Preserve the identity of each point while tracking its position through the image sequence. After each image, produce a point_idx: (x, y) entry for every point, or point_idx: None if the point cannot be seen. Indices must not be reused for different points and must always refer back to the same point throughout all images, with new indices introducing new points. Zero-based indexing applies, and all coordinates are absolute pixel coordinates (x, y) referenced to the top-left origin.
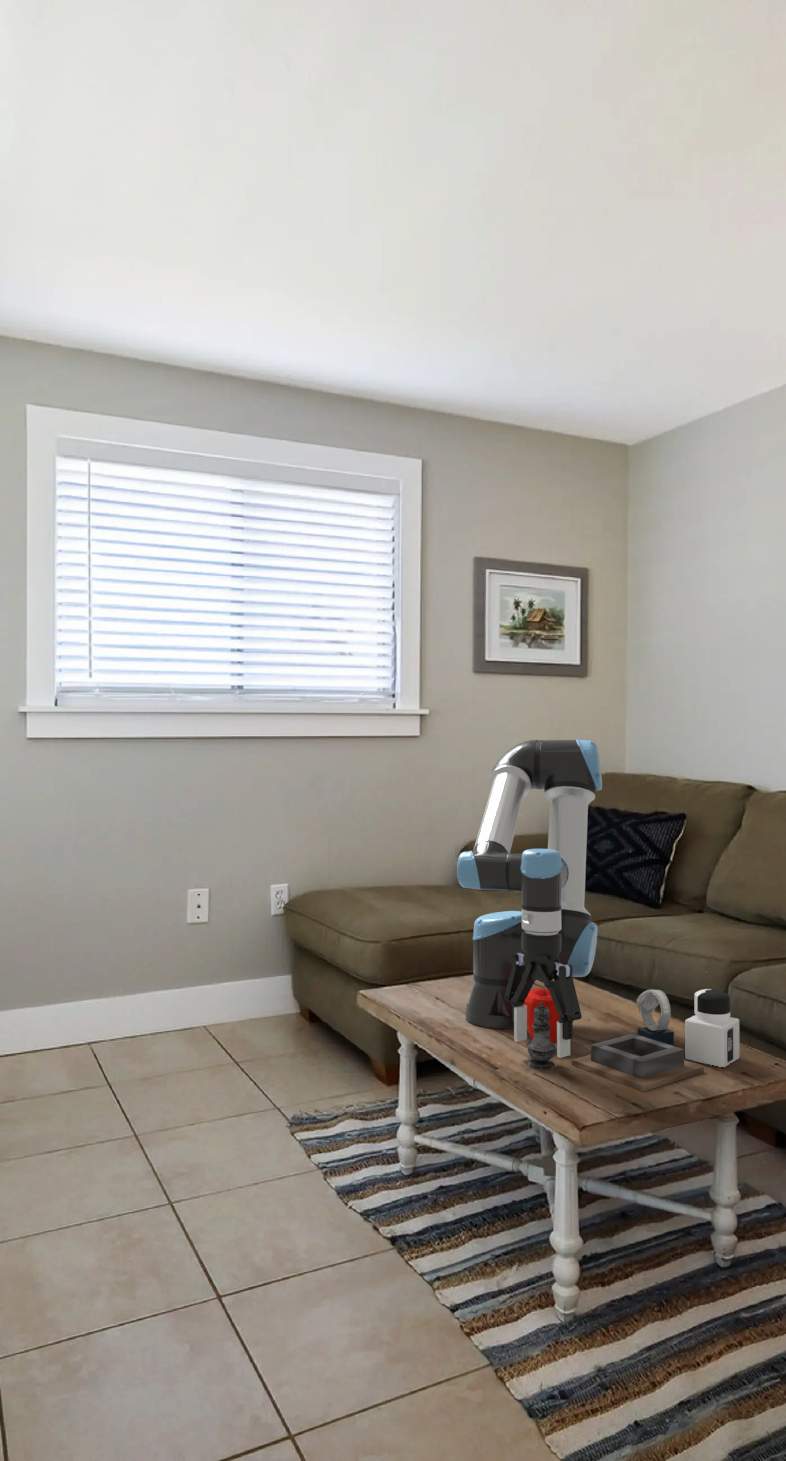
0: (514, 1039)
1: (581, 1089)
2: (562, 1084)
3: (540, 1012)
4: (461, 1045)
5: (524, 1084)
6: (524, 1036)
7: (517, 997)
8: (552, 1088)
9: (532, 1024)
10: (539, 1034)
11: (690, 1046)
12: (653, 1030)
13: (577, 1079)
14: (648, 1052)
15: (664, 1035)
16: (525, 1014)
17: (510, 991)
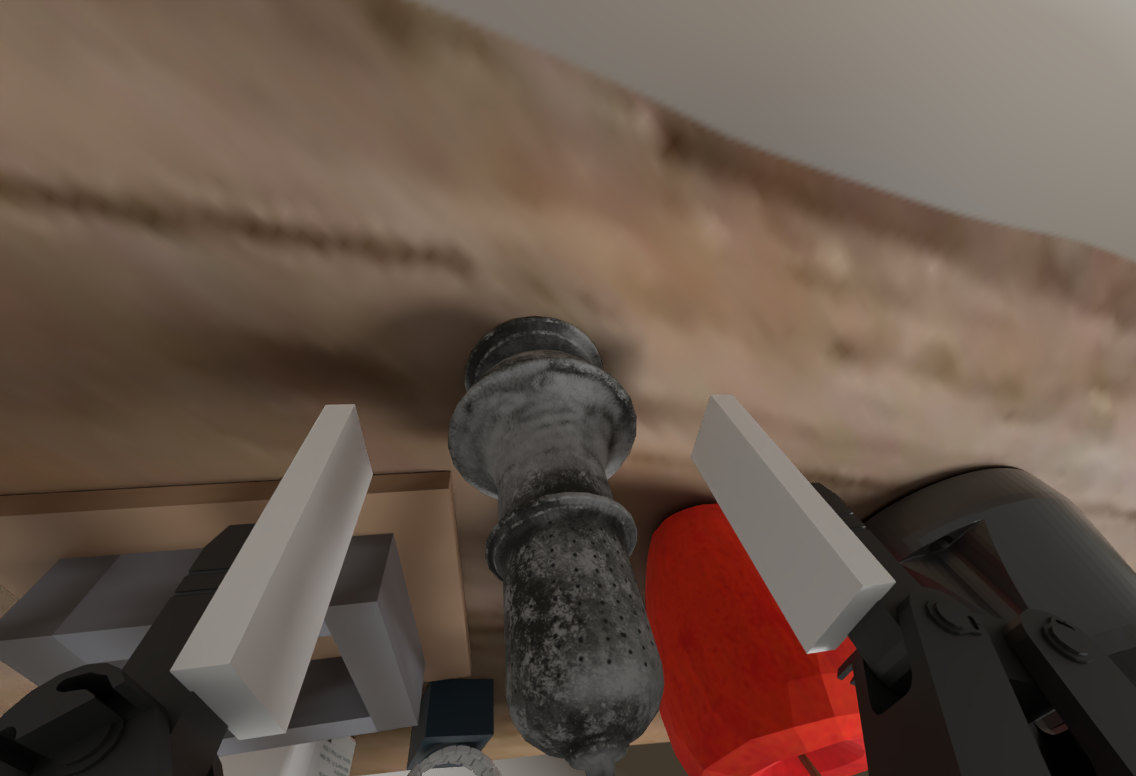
0: (735, 401)
1: (72, 287)
2: (208, 259)
3: (543, 673)
4: (989, 272)
5: (308, 23)
6: (704, 457)
7: (962, 726)
8: (144, 141)
9: (750, 561)
10: (529, 473)
11: (270, 762)
12: (440, 751)
13: (263, 379)
14: (308, 683)
15: (414, 747)
16: (774, 580)
17: (1123, 766)
